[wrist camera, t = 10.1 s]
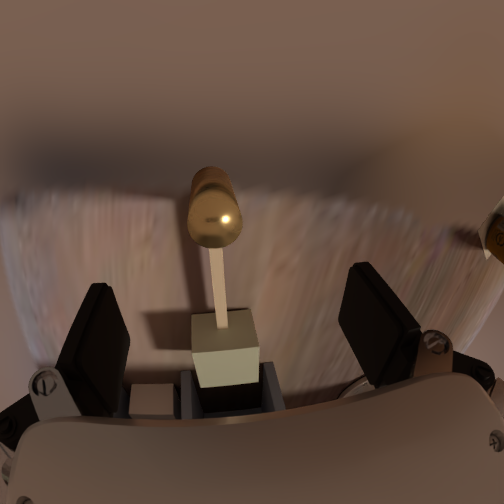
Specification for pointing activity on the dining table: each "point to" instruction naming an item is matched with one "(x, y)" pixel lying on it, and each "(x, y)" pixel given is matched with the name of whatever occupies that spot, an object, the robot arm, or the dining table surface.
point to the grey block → (154, 402)
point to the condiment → (493, 232)
